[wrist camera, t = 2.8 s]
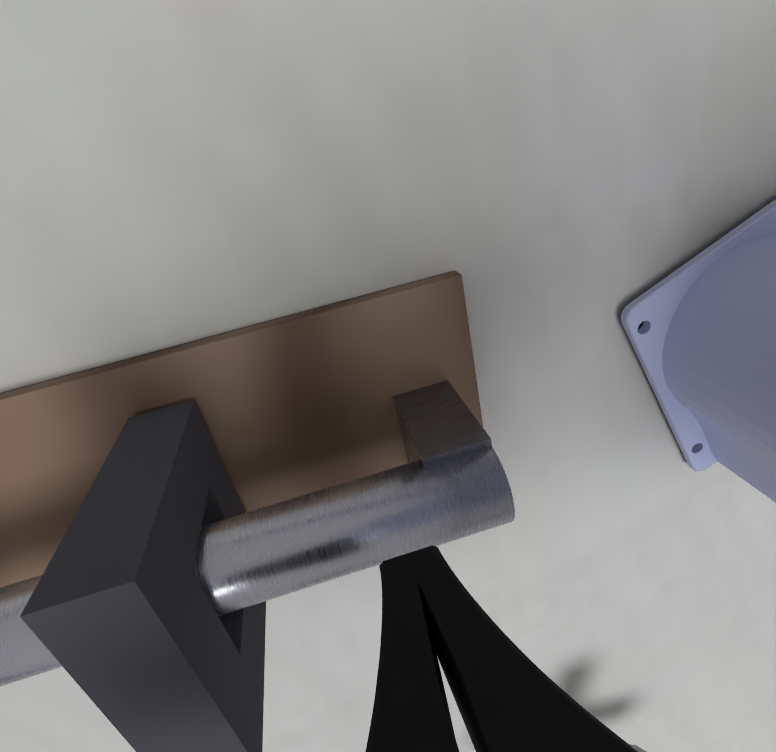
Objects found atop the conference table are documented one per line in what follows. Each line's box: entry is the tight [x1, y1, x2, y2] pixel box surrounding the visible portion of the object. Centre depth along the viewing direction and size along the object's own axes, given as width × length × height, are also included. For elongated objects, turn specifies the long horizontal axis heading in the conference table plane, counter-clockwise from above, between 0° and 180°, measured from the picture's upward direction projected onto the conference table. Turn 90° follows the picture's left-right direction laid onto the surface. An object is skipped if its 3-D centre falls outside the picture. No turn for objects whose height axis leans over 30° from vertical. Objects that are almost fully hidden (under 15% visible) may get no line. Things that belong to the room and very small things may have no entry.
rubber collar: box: [20, 400, 266, 752], centre depth 13 cm, size 2×7×7 cm, turn 12°
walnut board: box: [0, 271, 483, 587], centre depth 17 cm, size 24×10×1 cm, turn 102°
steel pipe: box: [0, 380, 515, 686], centre depth 14 cm, size 22×3×5 cm, turn 102°
